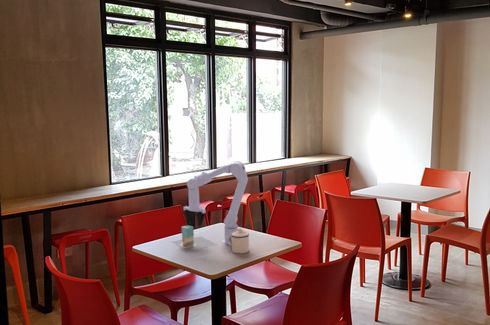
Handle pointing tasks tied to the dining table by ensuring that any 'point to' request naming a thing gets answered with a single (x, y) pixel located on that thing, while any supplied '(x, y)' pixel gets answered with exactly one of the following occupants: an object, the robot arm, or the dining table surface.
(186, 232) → the teal block
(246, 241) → the teacup with lid
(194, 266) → the dining table surface
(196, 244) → the gray board
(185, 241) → the birch block
